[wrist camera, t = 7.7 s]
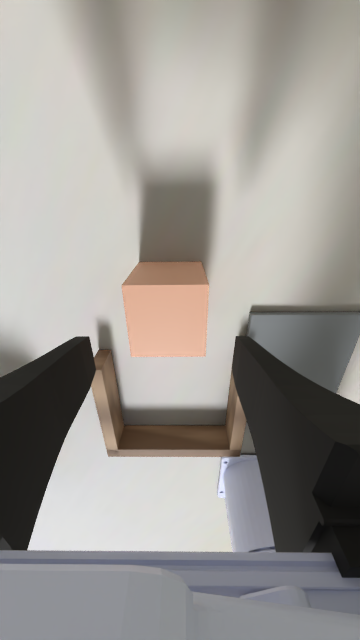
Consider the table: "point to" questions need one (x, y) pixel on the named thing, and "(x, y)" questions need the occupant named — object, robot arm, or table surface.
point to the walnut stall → (162, 437)
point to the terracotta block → (166, 309)
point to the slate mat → (309, 341)
